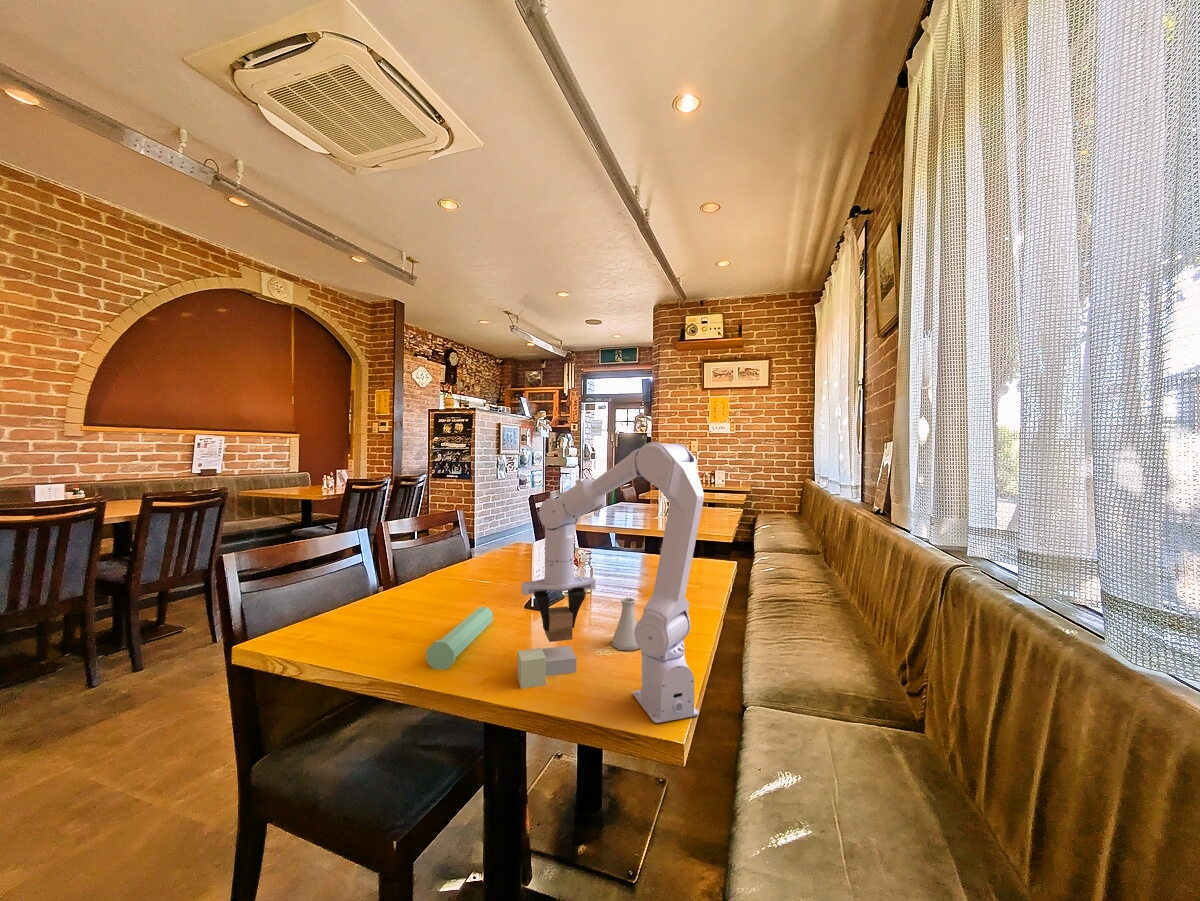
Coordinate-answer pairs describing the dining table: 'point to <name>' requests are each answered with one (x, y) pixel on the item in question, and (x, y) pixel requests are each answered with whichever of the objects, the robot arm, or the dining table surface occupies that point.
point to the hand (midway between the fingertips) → (558, 627)
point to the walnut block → (559, 624)
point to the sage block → (531, 668)
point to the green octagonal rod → (458, 639)
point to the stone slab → (560, 660)
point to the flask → (626, 627)
